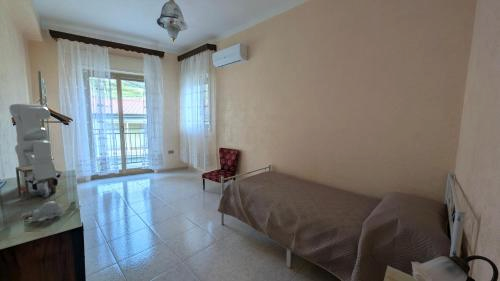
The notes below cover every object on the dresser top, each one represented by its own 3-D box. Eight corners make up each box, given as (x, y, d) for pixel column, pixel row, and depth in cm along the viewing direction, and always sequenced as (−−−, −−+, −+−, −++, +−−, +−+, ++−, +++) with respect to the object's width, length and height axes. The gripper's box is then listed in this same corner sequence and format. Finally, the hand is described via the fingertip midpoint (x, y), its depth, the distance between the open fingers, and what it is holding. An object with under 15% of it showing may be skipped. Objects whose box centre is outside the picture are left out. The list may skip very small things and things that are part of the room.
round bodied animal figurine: (36, 223, 109) (26, 210, 107) (64, 209, 116) (55, 196, 113) (33, 229, 104) (22, 215, 101) (63, 214, 110) (53, 200, 107)
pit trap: (16, 191, 145) (16, 189, 145) (36, 187, 154) (36, 185, 154) (22, 194, 140) (22, 192, 140) (42, 189, 149) (42, 187, 149)
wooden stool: (18, 195, 138) (15, 167, 136) (46, 189, 151) (44, 163, 149) (27, 199, 132) (24, 170, 130) (56, 192, 144) (53, 165, 142)
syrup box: (36, 196, 138) (33, 174, 136) (29, 195, 139) (26, 173, 138) (46, 192, 144) (44, 171, 142) (39, 192, 145) (37, 171, 143)
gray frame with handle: (23, 194, 139) (21, 179, 138) (44, 189, 148) (43, 175, 147) (36, 200, 130) (34, 184, 129) (57, 195, 139) (56, 179, 138)
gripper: (57, 158, 142) (60, 183, 144) (21, 162, 127) (24, 190, 129) (63, 159, 139) (65, 184, 140) (26, 164, 123) (29, 192, 125)
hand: (45, 187), depth 134 cm, fingers open, 9 cm apart
